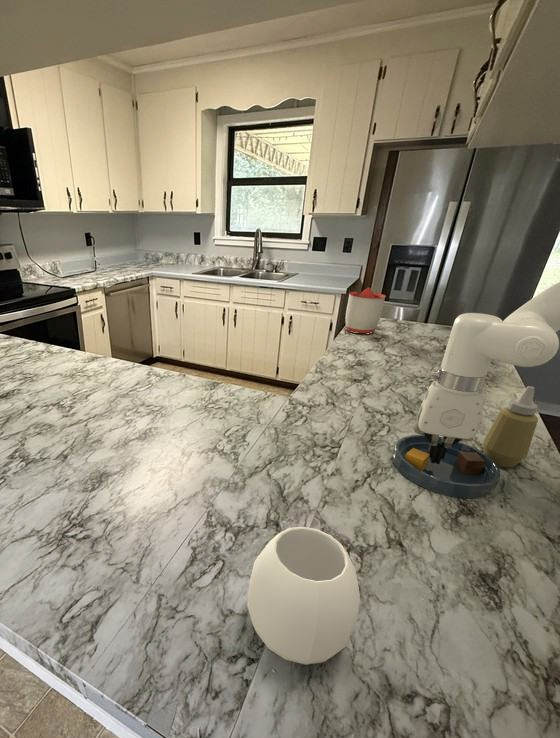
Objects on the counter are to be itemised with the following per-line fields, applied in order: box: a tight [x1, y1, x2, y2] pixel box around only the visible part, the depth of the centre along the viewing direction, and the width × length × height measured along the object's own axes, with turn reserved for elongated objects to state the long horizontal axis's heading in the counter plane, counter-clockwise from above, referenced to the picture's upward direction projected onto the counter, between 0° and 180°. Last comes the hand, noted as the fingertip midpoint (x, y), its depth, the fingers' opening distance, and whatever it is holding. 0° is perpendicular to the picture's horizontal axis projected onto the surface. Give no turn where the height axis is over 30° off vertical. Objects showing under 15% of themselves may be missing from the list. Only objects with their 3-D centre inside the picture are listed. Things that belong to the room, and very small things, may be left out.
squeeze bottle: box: [482, 385, 539, 468], centre depth 84 cm, size 8×8×18 cm
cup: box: [247, 526, 361, 666], centre depth 49 cm, size 13×13×14 cm
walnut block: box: [454, 452, 485, 475], centre depth 83 cm, size 4×4×4 cm
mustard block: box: [405, 448, 430, 471], centre depth 84 cm, size 4×4×4 cm
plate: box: [391, 434, 501, 499], centre depth 84 cm, size 19×19×4 cm
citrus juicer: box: [345, 286, 387, 333], centre depth 181 cm, size 16×17×20 cm
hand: (433, 460), depth 84 cm, fingers closed
